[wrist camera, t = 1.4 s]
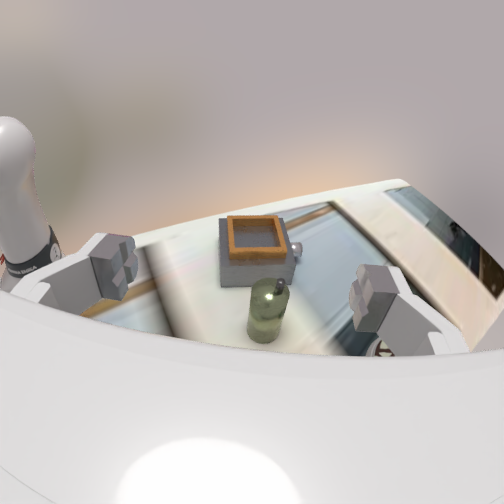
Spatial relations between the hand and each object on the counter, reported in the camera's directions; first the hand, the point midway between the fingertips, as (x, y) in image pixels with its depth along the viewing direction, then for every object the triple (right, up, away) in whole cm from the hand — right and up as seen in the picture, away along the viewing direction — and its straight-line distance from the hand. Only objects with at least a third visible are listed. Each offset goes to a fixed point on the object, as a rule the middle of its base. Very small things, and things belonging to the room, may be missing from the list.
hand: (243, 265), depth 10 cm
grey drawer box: (+2, -1, +52) cm, 52 cm away
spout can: (+2, -13, +39) cm, 42 cm away
